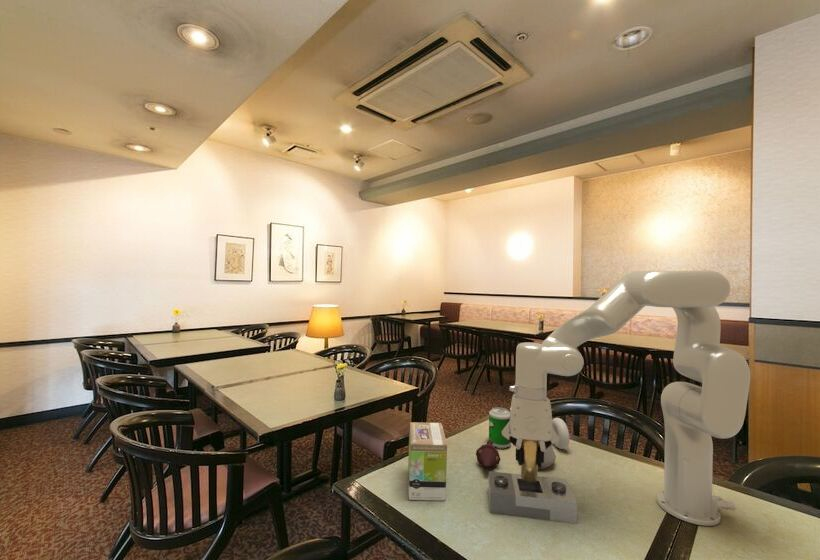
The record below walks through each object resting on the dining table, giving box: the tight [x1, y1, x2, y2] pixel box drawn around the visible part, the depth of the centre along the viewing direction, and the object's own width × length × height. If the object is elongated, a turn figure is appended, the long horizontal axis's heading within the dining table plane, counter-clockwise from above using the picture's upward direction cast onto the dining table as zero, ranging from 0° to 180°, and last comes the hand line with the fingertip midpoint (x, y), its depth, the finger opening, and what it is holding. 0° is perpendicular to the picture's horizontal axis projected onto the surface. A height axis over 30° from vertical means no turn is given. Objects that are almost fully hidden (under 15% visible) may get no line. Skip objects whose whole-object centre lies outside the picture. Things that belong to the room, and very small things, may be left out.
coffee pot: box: [538, 442, 557, 470], centre depth 107 cm, size 21×12×15 cm, turn 177°
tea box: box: [407, 421, 448, 501], centre depth 99 cm, size 15×10×15 cm
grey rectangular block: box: [487, 470, 578, 524], centre depth 91 cm, size 20×10×6 cm, turn 80°
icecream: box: [475, 439, 501, 469], centre depth 109 cm, size 7×7×15 cm
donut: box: [552, 417, 570, 450], centre depth 122 cm, size 10×3×10 cm, turn 4°
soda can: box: [488, 407, 512, 450], centre depth 124 cm, size 8×8×12 cm
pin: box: [520, 439, 539, 482], centre depth 91 cm, size 4×4×12 cm
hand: (529, 463), depth 91 cm, fingers closed on pin, 4 cm apart
